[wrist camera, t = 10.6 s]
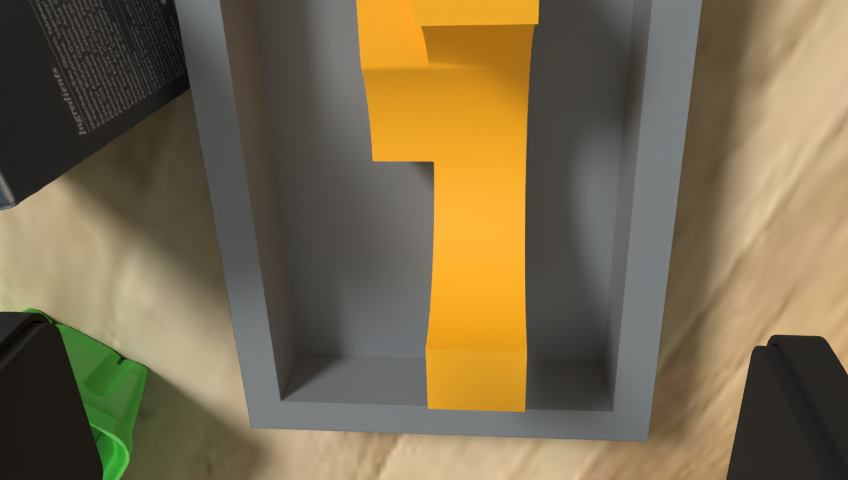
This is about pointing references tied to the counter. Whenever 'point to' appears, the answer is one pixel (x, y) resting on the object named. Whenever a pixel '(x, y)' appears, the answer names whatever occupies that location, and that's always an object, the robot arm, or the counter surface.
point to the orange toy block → (461, 176)
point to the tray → (414, 217)
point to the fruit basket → (106, 396)
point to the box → (79, 81)
